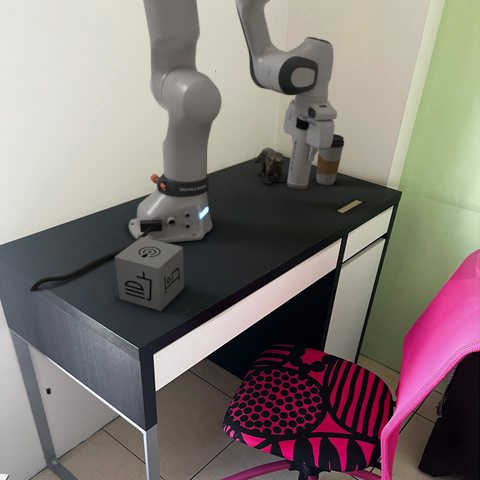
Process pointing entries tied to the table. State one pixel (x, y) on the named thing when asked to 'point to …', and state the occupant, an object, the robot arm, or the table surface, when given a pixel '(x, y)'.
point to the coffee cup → (329, 161)
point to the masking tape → (349, 206)
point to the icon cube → (150, 273)
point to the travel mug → (299, 158)
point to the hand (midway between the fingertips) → (303, 156)
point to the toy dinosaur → (270, 164)
